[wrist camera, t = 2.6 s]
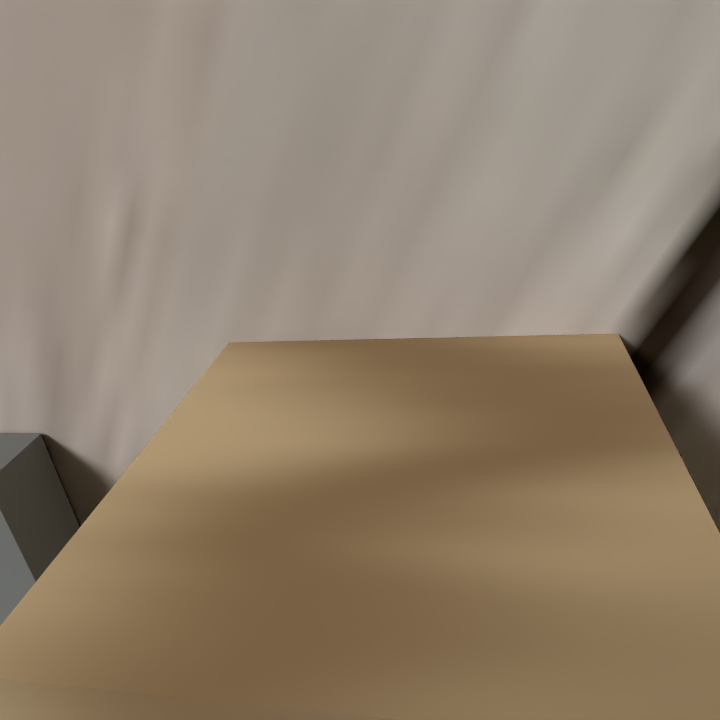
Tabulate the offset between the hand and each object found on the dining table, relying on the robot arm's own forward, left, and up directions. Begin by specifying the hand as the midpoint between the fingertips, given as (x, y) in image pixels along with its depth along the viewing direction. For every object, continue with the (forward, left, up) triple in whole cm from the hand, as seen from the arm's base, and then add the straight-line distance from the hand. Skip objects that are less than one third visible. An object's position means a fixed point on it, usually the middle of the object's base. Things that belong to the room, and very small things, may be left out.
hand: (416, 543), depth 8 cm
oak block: (0, 0, -1) cm, 1 cm away
